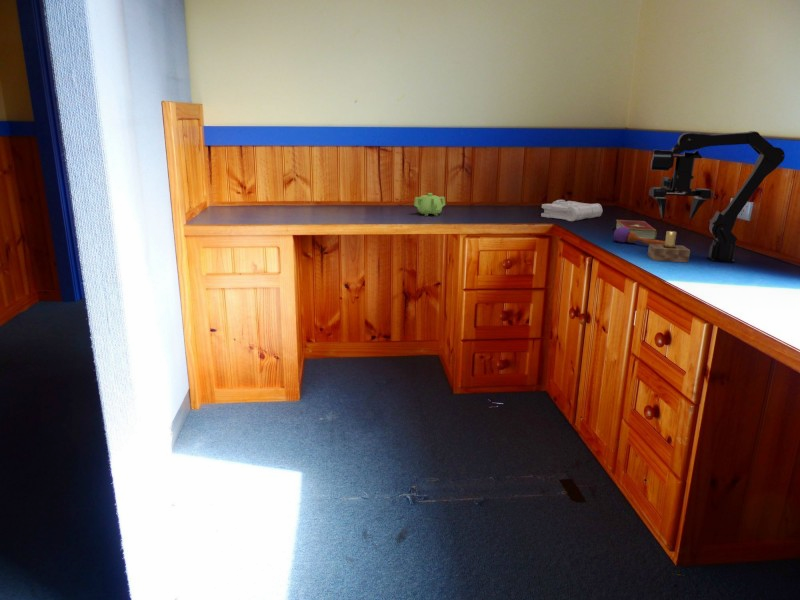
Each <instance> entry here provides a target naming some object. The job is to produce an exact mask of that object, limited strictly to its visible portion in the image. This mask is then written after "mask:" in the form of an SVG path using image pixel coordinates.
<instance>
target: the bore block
mask: <svg viewBox="0 0 800 600" xmlns="http://www.w3.org/2000/svg"><path fill="white" fill-rule="evenodd" d="M664 247H665V245H663V244H648V251H647V256H648V257H649V258H650V259H651V260H652V261H654V262H655V261H656V262H657V261H658V262H674V263H675V262H676V263H689V261H690V260H689V259H690V255H691V250H690V249H689V248H687V247H686V246H685V245H682V244H681V245H679V244H678V245H677V244H675V245H674V248H664Z"/></svg>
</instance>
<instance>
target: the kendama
mask: <svg viewBox="0 0 800 600" xmlns="http://www.w3.org/2000/svg"><path fill="white" fill-rule="evenodd" d="M613 238H614V240H615V241H616V242H618V243H627V242H628V243H633V242H642V243H644V244H647V245H649V244H663V245H665V240H659V239H649V238H639V237H638V236H637V235H636V234H635V233H634V232H632V231H631V232H630V230H629V229H628V228H626V227H619V228H617V229H615V230H614V232H613Z"/></svg>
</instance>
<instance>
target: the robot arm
mask: <svg viewBox="0 0 800 600" xmlns="http://www.w3.org/2000/svg"><path fill="white" fill-rule="evenodd" d="M736 145H749V147H751V148H752V149H753V150H754V151H755V153H756V154H758V157H757V159H756V160H755V164H754V167H753V170H752V172H751V173H750V174H749V175H748V177H747V178H746V179H745V181H744V183H743V184H742V186H740V188H739V190H738V191H737V192H736V194H735V195H734V196H733V198H732V199H731V201H729V204H728V205H727V207H726V208H725V209H723V211H721V212H720V211H718V210H716V211H715V214H714V215H713V217H712V218H711V219H709V225H708V228H709V232H710V233H711V234H712V235H713V237H714V240H713V239H712V243H711V244H710V245H709V251H708V256H707V258H709V259H710V260H712V261H714V262H726V263H734V262H735V260H734V254H735V249H736V246H737V245H736V242H737V240H738V238H737V236H736V235H734V233H733V232H732V231H733V228H734V226H735V224H736V222H737V218H738V215H739V214H740V213H741V212H742V210H743V208H744V207H745V206H746V205H747V203H748V202H749V200H750V199H751V198H752V197H753V195H754V194H755V193H756V191H757V189H758V188H759V187H760V185H761V184H762V182H763V181H764V180H765V178H767V177H768V176H769V175H770V174H771V173H773V172H774V171H775V170H776V169H777V168H778V167H779V166H780V165H781V164H782V163H783V162H784V161H785V159H786V155H785V151H784V149H782V148H780V147H777V146H773V144H772V143H770V142H769V141H768V140H767V139H766V138H764V137H763V136H762V135H760V132H758V131H753V130H750V131H744V132H728V133H715V134H714V133H712V134H711V133H710V134H708V133H698V132H683V133H682V134H680V136H678V139H677V143H676V144H675V145H673V147H671V149H669V150H668V149H667V150H666V149H665V150H661V149H653V153H652V158H651V160H650V161H651V162H650V171H663V172H669V171H670V169H673V173H672V175H671V178H670V177H668V176H667V177H666V176H664V177H662V178H661V187H660V186H656V187H655V186H652V187H650V189H649V192H648V195H649V196H650V197H652V199H654V200H655V201H656V202H657V205H658V209H659V213H660V218H661V219H664V218H665V213H666V207H667V198H666V196H676V197H679V196H680V197H682V196H683V197H692V198H691V201H692V202H691V209H690V213H689V220H692V219H693V218H694V216H695V215H696V214H697V212H698V211H699V209H700V207H701V206H702V205H703V203H705V202H707V201H708V199H709V200H711V199H713V191H712V190H711V189H708V188H698V187H697V188H695V189H694V190H692V188H691V186H692V181H693V179H694V176H695V175H693V174H694V167H695V161H696V159H702V158H703V156H702V155H701V154H700V152H699V151H698V150H700V149H703V148H708V147H715V146H718V147H719V146H736ZM685 151H686V152H685ZM690 151H694V152H690ZM682 153H683V155H679V154H682ZM674 163H675V165H674Z"/></svg>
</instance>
